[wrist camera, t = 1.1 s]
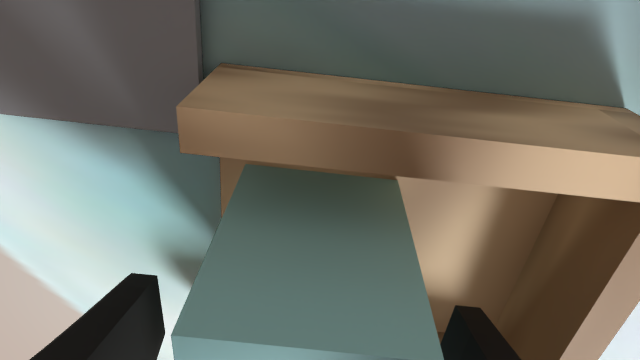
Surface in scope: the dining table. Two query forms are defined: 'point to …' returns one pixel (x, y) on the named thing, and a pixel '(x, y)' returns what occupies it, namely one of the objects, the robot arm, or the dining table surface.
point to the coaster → (100, 60)
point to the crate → (460, 189)
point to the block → (309, 274)
